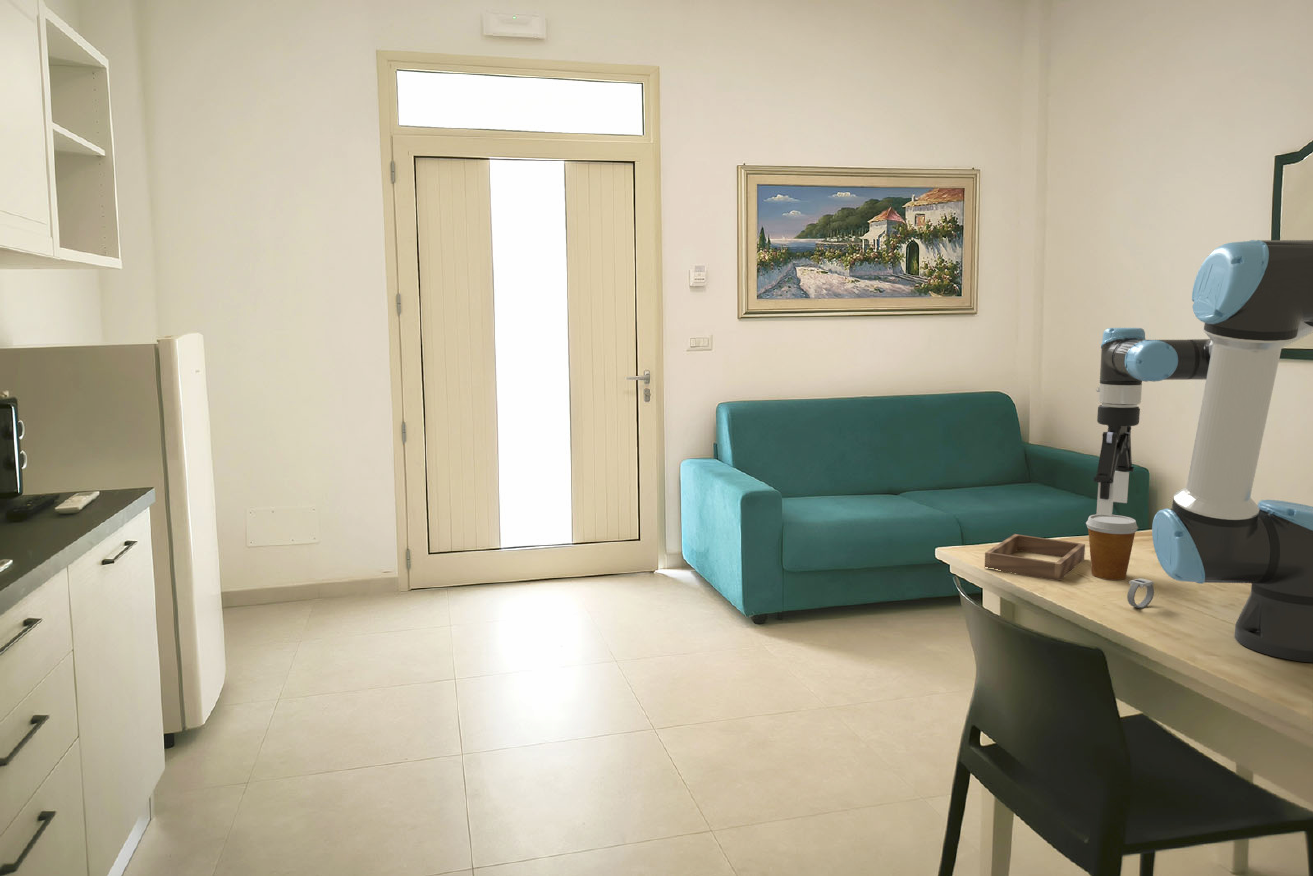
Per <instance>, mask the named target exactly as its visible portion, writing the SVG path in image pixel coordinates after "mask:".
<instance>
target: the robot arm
mask: <svg viewBox="0 0 1313 876" xmlns="http://www.w3.org/2000/svg"><path fill="white" fill-rule="evenodd" d="M1198 269H1199V270H1198V271H1197V272H1196V273H1197V274H1196V276H1195V279H1194V283H1193V286H1192V291H1191V301H1192V302H1193V305H1192V311H1193V313H1194V316H1195V317H1196V319H1198V320H1199V321H1200V322H1202V323H1204V325H1203V332H1204V333H1205V335H1207V337H1208V338H1205V339H1202V338H1198V339H1197V338H1195V339H1194V338H1193V339H1190V338H1189V339H1146V332H1145V330H1144V329H1143V328H1142V327H1107V328H1106V329H1105V330H1104V331H1103V334H1102V340H1101V344H1100V348H1101V350H1100V351H1101V352H1100V371H1099V387H1096V389H1095V391H1096V392H1097V393H1098V403H1100V405H1099V406H1097V418H1096V422H1097V423H1098V424H1099V425H1104V426H1107V431H1103V432H1102V434H1101V435H1102V441H1101V442H1102V443H1101V447H1100V453H1099V459H1098V464H1097V470H1096V476H1094V477H1093V481H1094V482H1096V483H1097V484H1098V485H1097V497H1096V499H1097V500H1096V514H1101V515H1108V516H1112V515H1113V509H1114V503H1120V504H1127V503H1128V494H1129V479H1130V478H1129V477H1130V472H1134V469H1135V467H1134V466H1132V465H1133V463H1132V461H1133V460H1132V459H1133V458H1132V441H1131V440H1132V439H1131V438H1132V437H1131V433H1132V431H1131V430H1132V427H1134V426H1135V427H1136V426H1138V425H1139V423H1140V414H1141V408H1140V406H1138V405H1140V404H1141V402H1142V390H1143V389H1142V388H1143V383H1142V382H1160V381H1164V380H1168V381H1173V380H1176V381H1177V380H1180V381H1182V380H1184V381H1185V380H1189V381H1190V380H1192V381H1193V380H1200V381H1201V380H1204V381H1205V383H1204V390H1203V396H1202V400H1201V406H1200V412H1199V416H1198V423H1197V430H1196V434H1195V440H1194V445H1193V451H1192V455H1191V461H1190V466H1189V473H1188V476H1187V484H1186V487H1185V486H1184V487H1183V488H1182V489H1180V490H1178V491H1176V492H1175V493H1174V495H1173V498H1172V499H1173V500H1172V503H1171V504H1172V505H1171V508H1166V507H1165V508H1163V509H1160V510H1158V511H1157V512H1156V513H1155V515H1154V517H1153V521H1152V527H1151V529H1152V530H1151V532H1152V533H1151V535H1152V544H1153V548H1154V552H1155V554H1156V557H1157V558H1156V559H1157V561H1158V562H1159V563H1158V564H1159V565H1160V567H1161V568H1162V570H1163V571H1164V573H1166V575H1168V577H1170V578H1171V579H1173V580H1175V581H1178V582H1189V583H1191V582H1192V583H1196V584H1204V583H1205V584H1207V583H1209V584H1215V583H1218V584H1251V585H1250V586H1251V588H1250V595H1249V596H1248V598H1247V600H1246V602H1245V603H1244V606H1243V608H1242V609H1241V612H1240V613H1239V616H1238V618H1237V620H1236V621H1235V622H1236V623H1235V625H1234V634H1233V635H1234V639H1235V641H1237V642H1238V644H1240V645H1243V647H1245V648H1248V649H1250V650H1252V651H1255V652H1258V653H1261V654H1264V655H1267V656H1271V657H1274V658H1275V657H1276V658H1279V659H1284V660H1288V661H1290V660H1291V661H1295V662H1302V663H1303V662H1304V663H1313V506H1312V505H1307V504H1303V503H1296V502H1291V501H1290V502H1289V501H1285V500H1276V499H1261V500H1259V502H1258V504H1257V503H1256V501H1254V500H1253V499H1252V498H1251V497H1252V496H1251V495H1252V490H1253V486H1254V481H1255V477H1256V470H1257V466H1258V463H1259V458H1260V457H1259V456H1260V454H1261V453H1260V452H1261V448H1262V443H1263V438H1264V433H1265V428H1266V424H1267V419H1268V415H1269V410H1270V406H1271V405H1270V404H1271V400H1272V395H1273V391H1274V387H1275V381H1276V376H1277V372H1278V367H1279V362H1280V357H1281V353H1282V349H1284V348H1285V347H1287V346H1290V345H1291V344H1293V343H1295V342H1297V341H1299V340H1301V339H1304V338H1306V337H1307V336H1309V335H1311V334H1313V239H1310V240H1309V239H1292V240H1291V239H1287V240H1284V239H1283V240H1282V239H1281V240H1279V239H1274V240H1272V239H1269V240H1266V239H1265V240H1263V239H1257V240H1256V239H1251V240H1247V241H1245V240H1243V241H1234V242H1228V243H1224V244H1222V245H1220V246H1218V247H1216V248H1215V249H1213V250H1212V252H1210V254H1209V255H1207V257H1206V258H1205V259H1204V260H1203V262H1202V264H1201V265H1200V267H1199V268H1198ZM1096 514H1095V515H1096Z"/></svg>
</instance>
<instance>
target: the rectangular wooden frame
mask: <svg viewBox="0 0 1313 876" xmlns="http://www.w3.org/2000/svg"><path fill="white" fill-rule="evenodd" d="M1017 551H1018V552H1024V553H1025V552H1026V553H1032V554H1038V555H1044V556H1051V557H1057V558H1058V557H1059V558H1060V559H1059V560H1058V561H1050V560H1049V561H1048V560H1043V559H1035V558H1030V557H1023V556H1017V555H1013V554H1014V553H1016V552H1017ZM1085 552H1086V543H1081V542H1080V543H1079V542H1073V541H1066V540H1060V539H1053V538H1052V539H1051V538H1044V537H1037V536H1030V535H1025V534H1024V535H1023V534H1018V533H1017V534H1016V533H1013V535H1010V536H1009V537H1007V538H1006V539H1004V540H1003V541H1000V543H998V544H997V545H995V546H993V547H992V548H990V549H989V550H987V551H985V553H984V568H985V567H988V568H994V569H998V570H1001V571H1000V572H1002V571H1003V572H1002V573H1008V572H1012V573H1011V574H1014V573H1016V574H1015V575H1021V576H1027V577H1031V578H1032V577H1033V578H1038V579H1045V580H1051V581H1057V582H1060V581H1061V580H1062V579H1064V578H1065V577H1066V576H1067V575H1068V574H1069V573H1071V572H1072V571H1073V570H1074V569H1075V568H1076V567H1078V566H1079V564H1081V563H1082V562H1083V561H1084V560H1085V556H1086V555H1085V554H1086V553H1085Z"/></svg>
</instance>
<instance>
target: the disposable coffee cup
mask: <svg viewBox="0 0 1313 876" xmlns="http://www.w3.org/2000/svg"><path fill="white" fill-rule="evenodd" d="M1085 525H1086V527H1087V530H1088V531H1087V532H1088V543H1089V554H1090V567H1091V568H1090V569H1091V575H1092V576H1093V577H1096V578H1099V579H1103V580H1108V581H1109V580H1111V581H1121V580H1124V579H1126V578H1127V573H1128V569H1129V568H1128V567H1129V563H1130V559H1131V555H1132V551H1133V550H1132V549H1133V544H1134V540H1135V534H1136V533H1137V530H1138V529H1139V525H1137V521H1136V519H1134V518H1133V517H1130V516H1125V515H1116V514H1112V516H1108V515H1101V514H1091V515H1089V516H1088V519H1087V521H1086V522H1085Z"/></svg>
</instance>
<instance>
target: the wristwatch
mask: <svg viewBox="0 0 1313 876" xmlns="http://www.w3.org/2000/svg"><path fill="white" fill-rule="evenodd" d="M1128 584H1129V585H1130V587H1129V588H1128V592H1127V595H1126V596H1127V597H1126V598H1127V602H1128V604H1129V605H1130V606H1131V607H1134V608H1137V609H1144V608H1146V607H1147V606H1148V605H1150V603H1151V602H1152V601H1153V598H1154V594H1155V591H1154V590H1155V589H1154V584H1155V583H1154V581H1153V580H1151V579H1150V580H1149V579H1145V578H1141V577H1140V578H1136V579H1132V580H1129V581H1128ZM1139 587H1140V588H1145V587H1146V594H1145V596H1144V598H1143V600H1142V601H1141V602H1140V603H1138V604H1136V601H1135V597H1136V592H1137V590H1138V588H1139Z"/></svg>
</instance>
